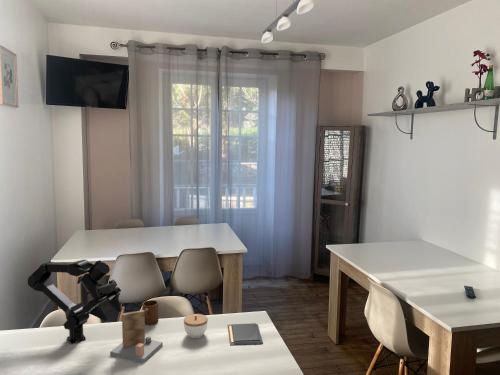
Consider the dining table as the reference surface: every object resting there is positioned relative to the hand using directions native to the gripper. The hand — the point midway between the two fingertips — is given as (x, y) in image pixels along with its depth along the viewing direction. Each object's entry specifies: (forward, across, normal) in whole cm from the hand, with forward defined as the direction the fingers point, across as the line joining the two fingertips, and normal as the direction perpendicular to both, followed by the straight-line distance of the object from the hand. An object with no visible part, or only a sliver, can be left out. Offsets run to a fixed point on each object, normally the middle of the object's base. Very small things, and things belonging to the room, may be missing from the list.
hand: (113, 316), depth 164 cm
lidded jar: (+29, +21, -12) cm, 38 cm away
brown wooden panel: (+15, +1, +1) cm, 15 cm away
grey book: (+43, +29, -28) cm, 59 cm away
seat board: (+17, +1, +1) cm, 17 cm away
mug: (+12, +24, +8) cm, 28 cm away
